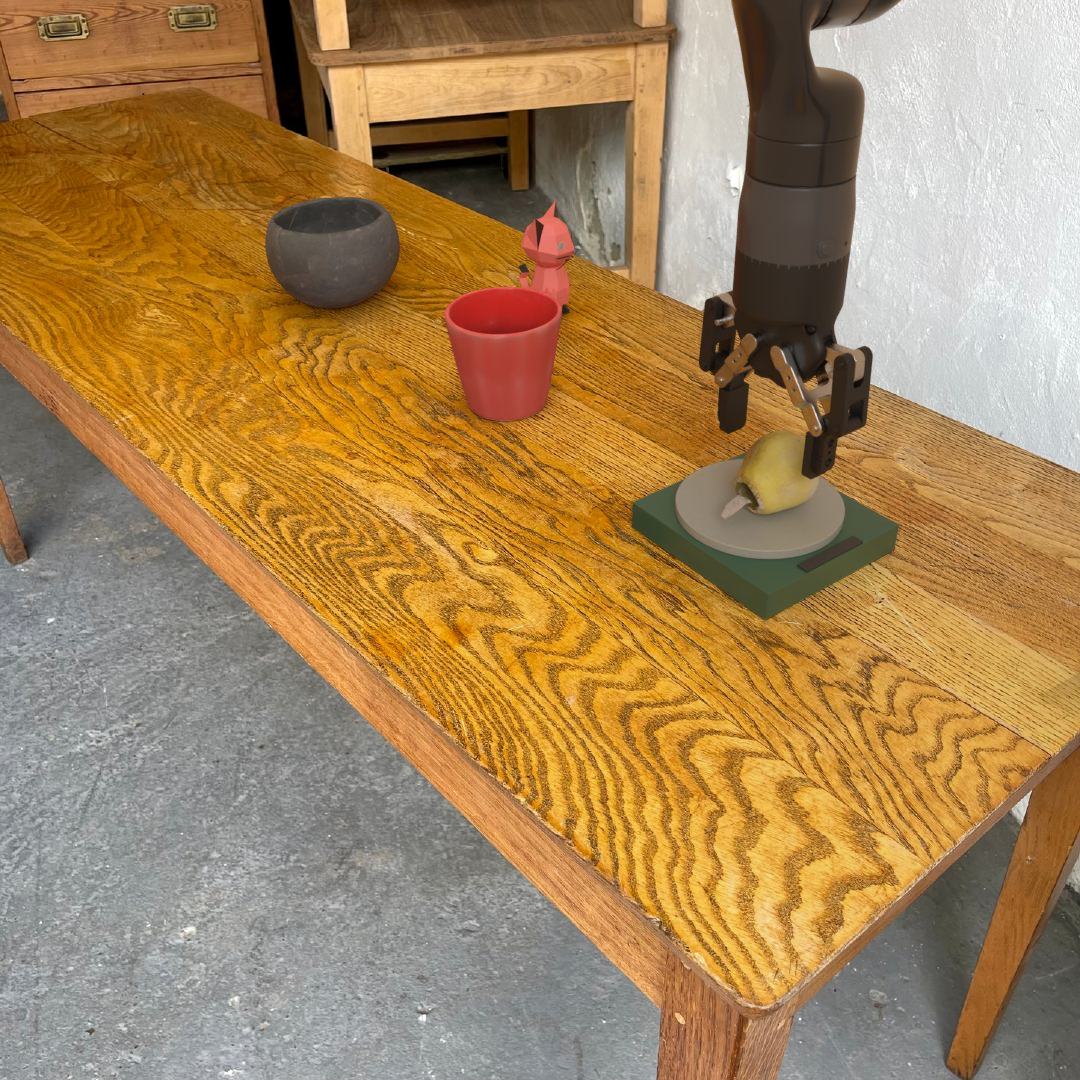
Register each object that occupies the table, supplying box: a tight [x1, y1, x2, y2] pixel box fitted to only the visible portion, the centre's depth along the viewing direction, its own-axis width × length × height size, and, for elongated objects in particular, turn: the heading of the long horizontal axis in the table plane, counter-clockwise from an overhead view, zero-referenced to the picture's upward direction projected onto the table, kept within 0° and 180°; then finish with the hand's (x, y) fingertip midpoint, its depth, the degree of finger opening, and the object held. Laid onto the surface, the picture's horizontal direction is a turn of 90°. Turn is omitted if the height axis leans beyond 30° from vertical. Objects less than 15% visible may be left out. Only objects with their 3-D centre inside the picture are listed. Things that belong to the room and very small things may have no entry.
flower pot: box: [444, 286, 563, 422], centre depth 104 cm, size 11×11×10 cm
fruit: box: [720, 429, 821, 520], centre depth 84 cm, size 6×6×10 cm
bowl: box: [264, 196, 401, 309], centre depth 126 cm, size 15×15×10 cm
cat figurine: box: [518, 200, 579, 315], centre depth 120 cm, size 7×7×12 cm
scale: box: [631, 451, 900, 621], centre depth 86 cm, size 15×14×3 cm
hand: (771, 451), depth 83 cm, fingers open, 8 cm apart
